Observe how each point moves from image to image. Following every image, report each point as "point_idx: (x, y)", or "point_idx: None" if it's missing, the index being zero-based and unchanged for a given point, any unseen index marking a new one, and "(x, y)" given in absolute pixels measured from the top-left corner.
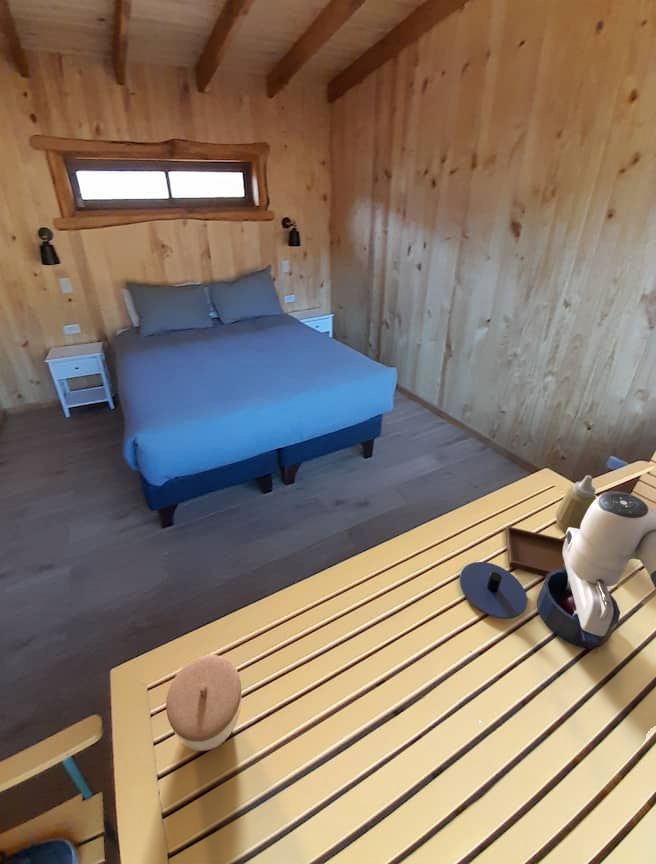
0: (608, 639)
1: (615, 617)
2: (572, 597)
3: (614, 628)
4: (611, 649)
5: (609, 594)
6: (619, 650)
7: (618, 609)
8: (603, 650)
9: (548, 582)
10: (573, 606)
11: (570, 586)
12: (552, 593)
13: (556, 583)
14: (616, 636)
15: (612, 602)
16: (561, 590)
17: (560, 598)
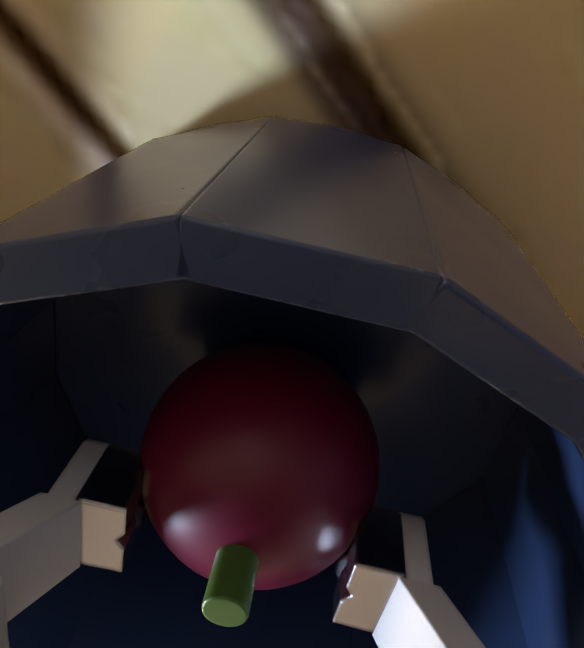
0: (511, 236)
1: (542, 410)
2: (201, 573)
3: (577, 331)
4: (557, 199)
5: (46, 261)
6: (573, 126)
7: (370, 272)
8: (560, 273)
9: (72, 629)
10: (299, 580)
11: (65, 561)
12: (103, 434)
13: (28, 491)
14: (427, 74)
15: (212, 278)
16: (52, 372)
17: (131, 399)
